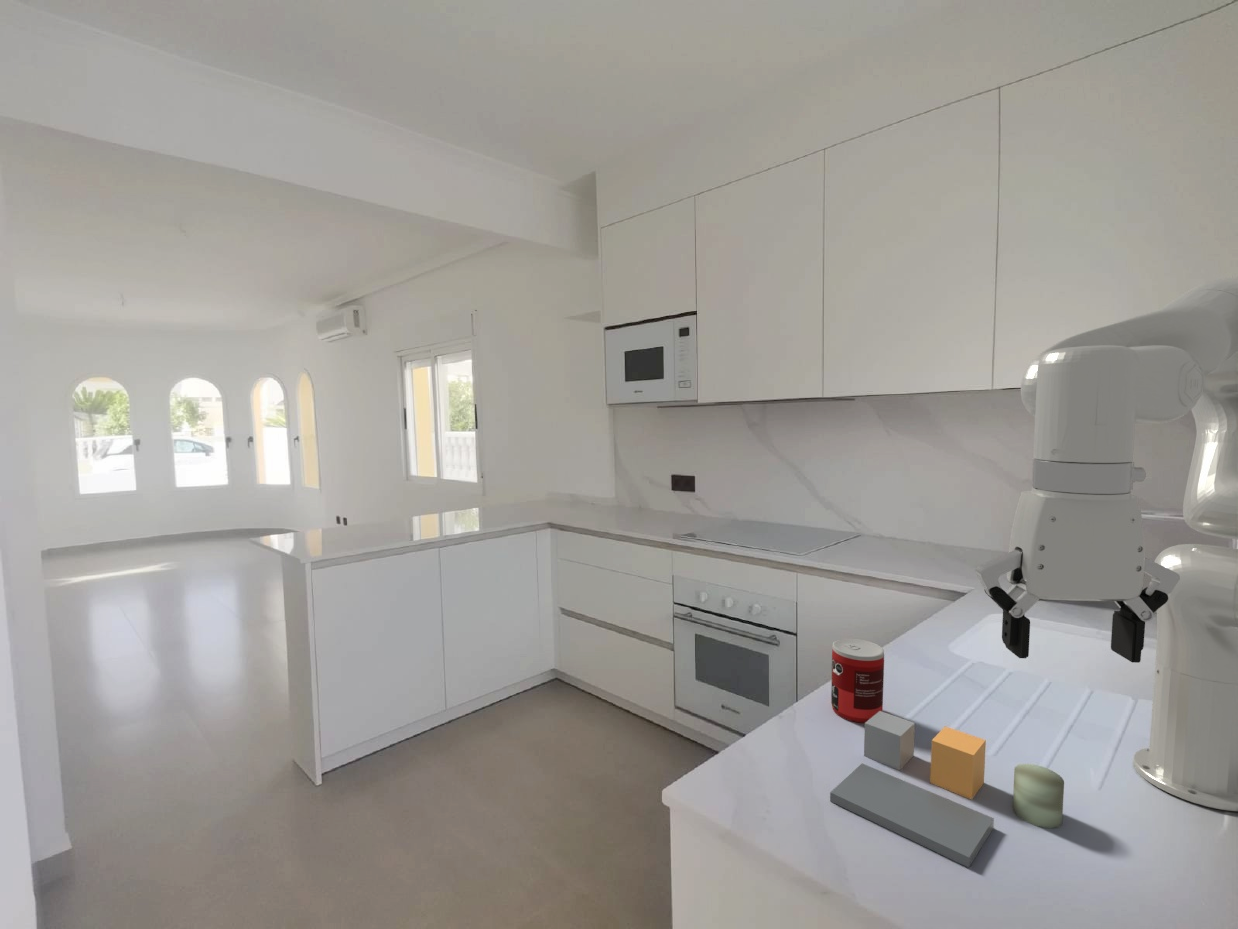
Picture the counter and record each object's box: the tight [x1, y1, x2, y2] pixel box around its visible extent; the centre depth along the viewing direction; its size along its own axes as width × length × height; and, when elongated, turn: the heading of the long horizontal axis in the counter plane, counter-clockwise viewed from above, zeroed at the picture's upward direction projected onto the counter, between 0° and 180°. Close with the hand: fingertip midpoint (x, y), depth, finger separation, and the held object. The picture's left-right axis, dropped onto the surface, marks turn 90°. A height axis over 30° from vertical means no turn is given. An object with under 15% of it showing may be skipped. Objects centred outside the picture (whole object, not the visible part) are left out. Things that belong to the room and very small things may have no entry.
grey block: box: [863, 710, 916, 771], centre depth 88 cm, size 5×5×5 cm
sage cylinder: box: [1012, 763, 1065, 829], centre depth 75 cm, size 5×5×5 cm
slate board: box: [829, 763, 995, 869], centre depth 76 cm, size 9×16×1 cm, turn 44°
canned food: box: [830, 638, 885, 724], centre depth 100 cm, size 8×8×11 cm
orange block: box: [929, 726, 987, 801], centre depth 81 cm, size 5×5×6 cm
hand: (1070, 654), depth 60 cm, fingers open, 9 cm apart
